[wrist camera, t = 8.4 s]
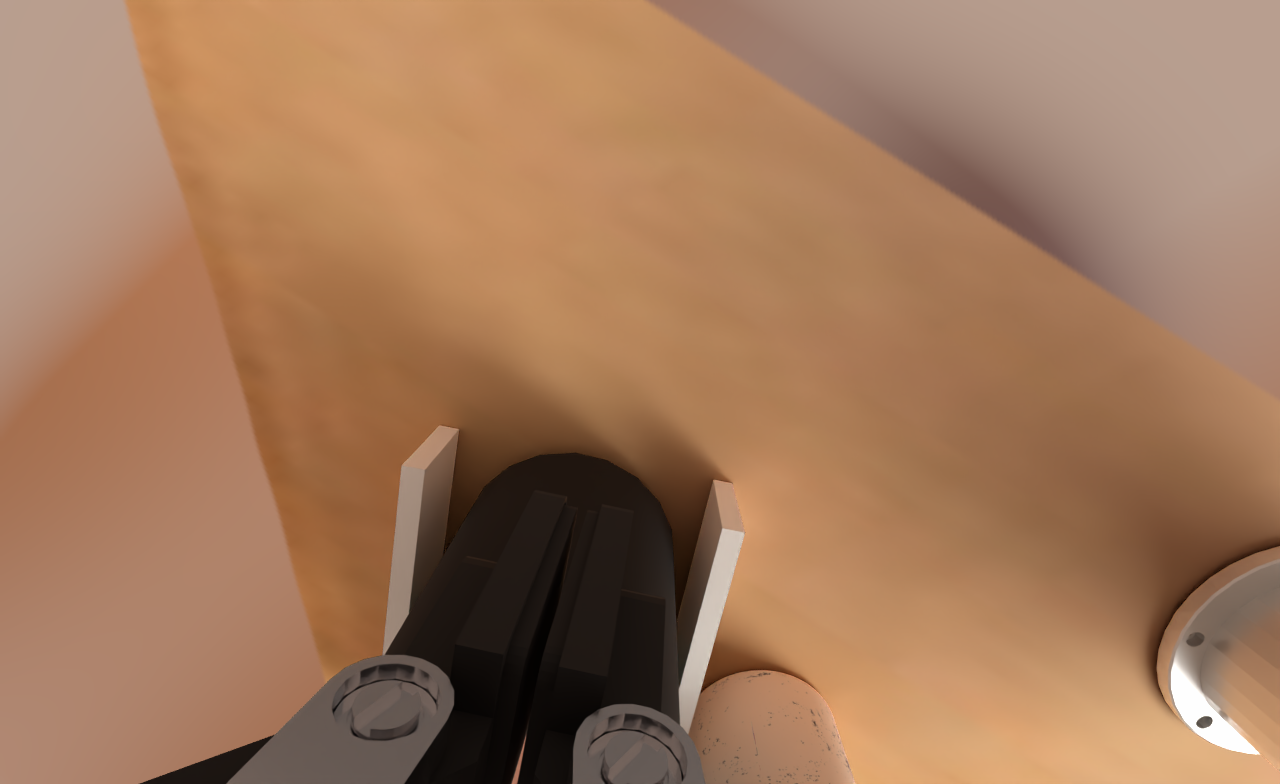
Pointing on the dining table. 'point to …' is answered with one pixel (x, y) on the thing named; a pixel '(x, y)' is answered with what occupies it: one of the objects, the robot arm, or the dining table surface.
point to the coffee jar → (586, 490)
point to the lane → (425, 540)
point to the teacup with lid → (767, 732)
